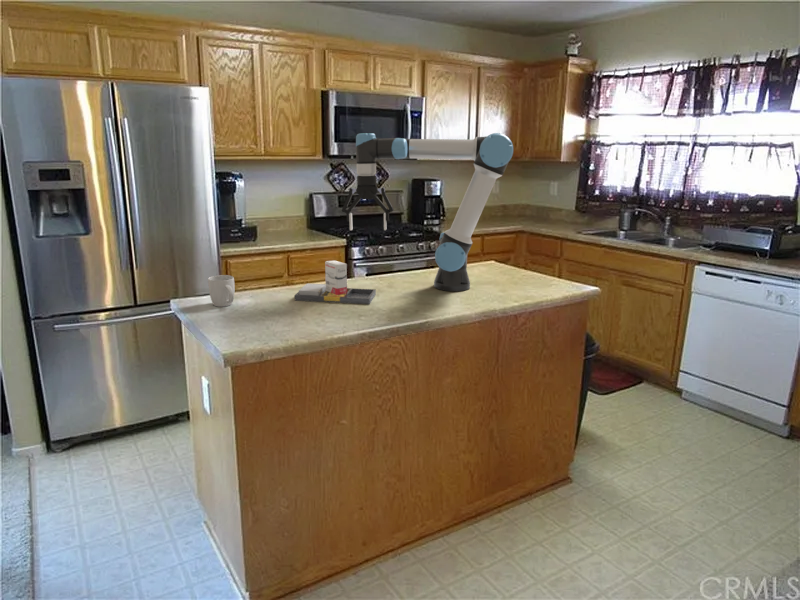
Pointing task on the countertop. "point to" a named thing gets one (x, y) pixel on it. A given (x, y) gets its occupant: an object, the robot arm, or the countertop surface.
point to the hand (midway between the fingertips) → (368, 229)
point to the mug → (221, 290)
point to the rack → (341, 296)
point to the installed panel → (312, 289)
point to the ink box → (336, 277)
